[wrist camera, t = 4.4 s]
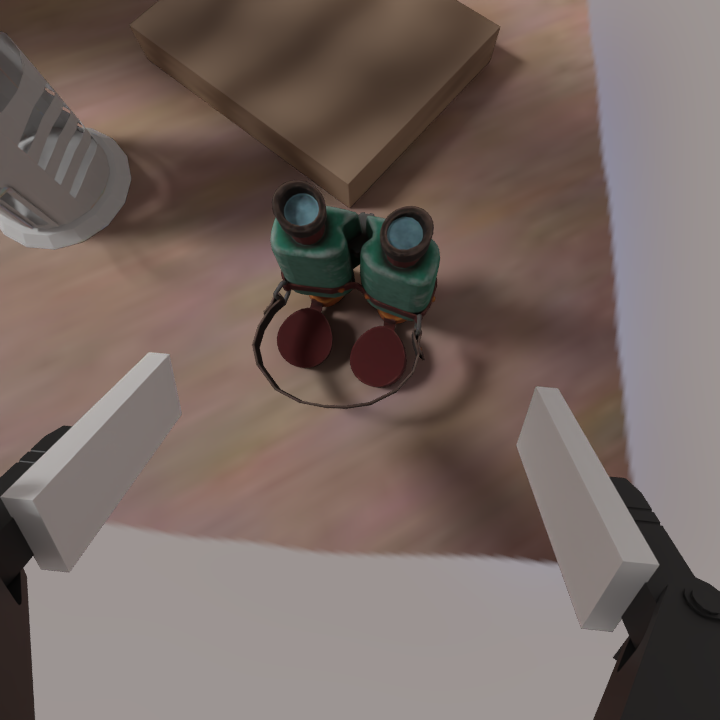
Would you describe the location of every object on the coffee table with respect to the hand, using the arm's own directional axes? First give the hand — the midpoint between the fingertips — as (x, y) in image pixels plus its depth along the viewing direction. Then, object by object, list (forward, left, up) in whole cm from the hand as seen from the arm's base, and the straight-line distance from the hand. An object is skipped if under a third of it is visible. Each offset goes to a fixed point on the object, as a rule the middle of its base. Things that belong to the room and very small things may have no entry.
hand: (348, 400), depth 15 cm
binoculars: (-4, +4, -10) cm, 11 cm away
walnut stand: (-20, +19, -10) cm, 29 cm away
